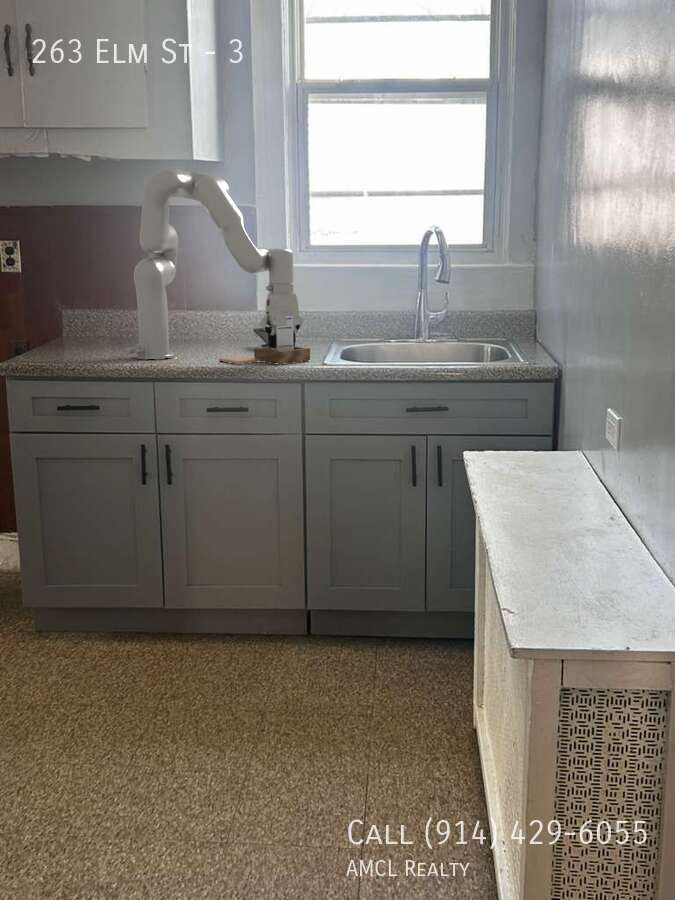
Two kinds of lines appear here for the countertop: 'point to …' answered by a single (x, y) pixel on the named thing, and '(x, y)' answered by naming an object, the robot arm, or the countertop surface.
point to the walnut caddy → (282, 355)
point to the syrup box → (284, 336)
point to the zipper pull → (262, 336)
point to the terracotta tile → (240, 359)
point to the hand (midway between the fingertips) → (282, 346)
